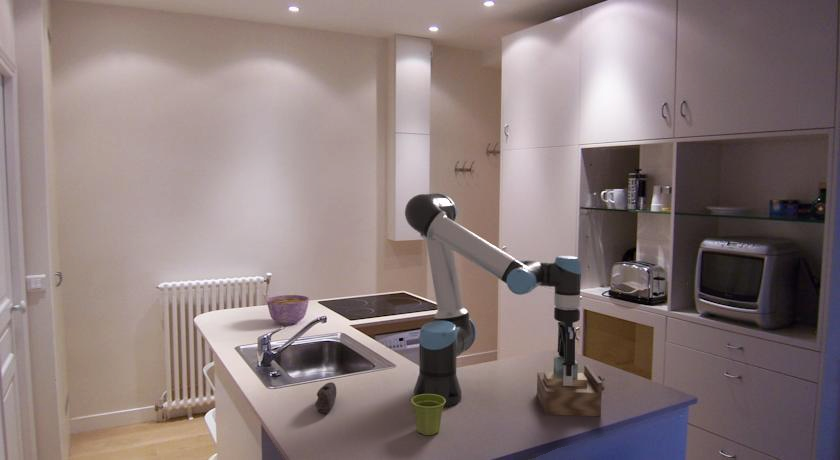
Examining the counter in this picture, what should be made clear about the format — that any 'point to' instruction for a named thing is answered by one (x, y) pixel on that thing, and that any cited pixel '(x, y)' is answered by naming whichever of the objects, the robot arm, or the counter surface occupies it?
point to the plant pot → (428, 412)
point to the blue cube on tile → (557, 375)
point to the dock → (571, 396)
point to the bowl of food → (287, 308)
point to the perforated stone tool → (326, 397)
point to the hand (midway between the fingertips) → (565, 381)
